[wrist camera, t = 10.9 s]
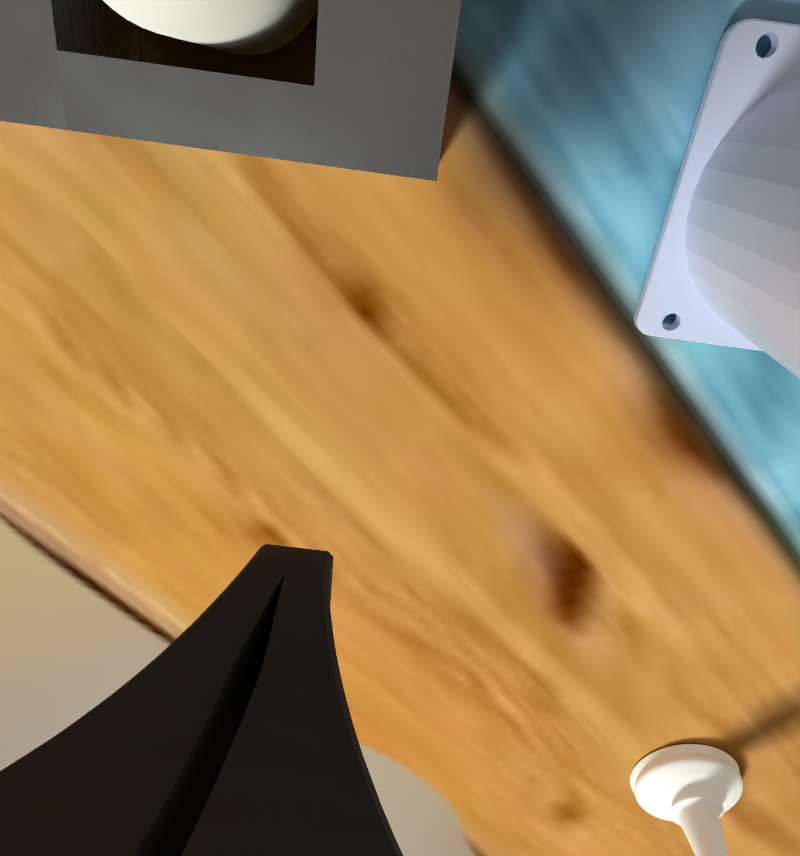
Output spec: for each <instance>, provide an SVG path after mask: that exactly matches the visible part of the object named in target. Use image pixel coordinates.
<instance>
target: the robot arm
mask: <svg viewBox="0 0 800 856" xmlns="http://www.w3.org/2000/svg"><path fill="white" fill-rule="evenodd" d="M764 34H765V35H767V36H769V38H770V41H771V47H770V50H769V52H768V53H767V55H765V56H764V57H763V58H761V57H759V56H758V55H757V53H756V51H755V50H756V43H757V42H758V40H759V38H760V37H761V36H763V35H764ZM674 313H675V314H676V320H675V321H674V323H673V324H671V325H670V326H665V327H664V326H662V321H663V319H664V318H665V316H667V315H669V314H674ZM634 322H635V325H636V327H637V328H638V329H639V330H640V331H641V332H642V333H644V334H646V335H650V336H657V337H664V338H672V339H679V340H686V341H694V342H701V343H708V344H715V345H723V346H730V347H737V348H745V349H752V350H759V351H764V352H765V353H767V354H768V355H769V356H771V357H772V358H773V359H775V360H776V361H777V362H779V363H780V364H781V365H783V366H784V367H785V368H787V369H788V370H789V371H791V372H792V373H793V374H795V375H796V376H797V377H799V378H800V25H798V24H791V23H784V22H777V21H770V20H763V19H756V18H752V19H744V20H741V21H738V22H737V23H735V24H733V25H731V26H730V27H729V28H728V30H727V31H726V32H725V33H724V35H723V37H722V39H721V41H720V44H719V47H718V51H717V54H716V57H715V60H714V63H713V67H712V70H711V73H710V76H709V79H708V82H707V86H706V89H705V92H704V95H703V98H702V102H701V105H700V108H699V111H698V114H697V117H696V121H695V124H694V127H693V130H692V133H691V136H690V140H689V143H688V146H687V149H686V152H685V156H684V159H683V162H682V165H681V168H680V171H679V175H678V178H677V181H676V184H675V187H674V191H673V194H672V197H671V200H670V203H669V206H668V210H667V213H666V216H665V219H664V222H663V225H662V229H661V232H660V235H659V238H658V241H657V245H656V248H655V251H654V254H653V257H652V260H651V264H650V267H649V270H648V273H647V276H646V280H645V283H644V286H643V289H642V292H641V295H640V299H639V302H638V305H637V308H636V311H635V315H634ZM332 569H333V556H332V555H331V554H330V553H329V552H328V551H320V550H311V549H303V548H294V547H286V546H277V545H269V544H265V545H264V546H262V547H261V548H260V549H259V550H258V551H257V552H256V554H255V555H254V556H253V558H252V559H251V560H250V561H249V562H248V564H247V565H246V566H245V567H244V568H243V570H242V571H241V572H240V573H239V574H238V575H237V577H236V578H235V579H234V580H233V581H232V582H231V583H230V585H229V586H228V587H227V588H226V589H225V590H224V591H223V592H222V593H221V594H220V596H219V597H218V598H217V599H216V600H215V601H214V602H213V603H212V604H211V605H210V606H209V607H208V608H207V609H206V610H205V611H204V612H203V613H202V614H201V615H200V617H199V618H198V619H197V620H196V621H195V622H194V623H193V624H192V625H191V626H189V627H188V628H187V629H186V630H185V631H184V632H183V633H182V634H181V635H180V636H179V637H178V638H177V639H176V640H175V641H174V642H173V643H171V644H170V645H169V646H168V647H167V648H166V649H165V650H164V651H163V652H162V653H161V654H160V655H159V656H157V657H156V658H155V659H154V660H153V661H152V662H151V663H149V664H148V665H147V666H146V667H145V668H144V669H143V670H141V671H140V672H139V673H138V674H137V675H135V676H134V677H133V678H132V679H131V680H129V681H128V682H127V683H126V684H124V685H123V686H122V687H121V688H119V689H118V690H117V691H116V692H115V693H113V694H112V695H111V696H109V697H108V698H107V699H105V700H104V701H103V702H101V703H100V704H99V705H97V706H96V707H95V708H93V709H92V710H91V711H89V712H88V713H86V714H85V715H84V716H83V717H81V718H80V719H78V720H77V721H76V722H74V723H73V724H71V725H70V726H69V727H67V728H66V729H64V730H63V731H62V732H60V733H59V734H57V735H56V736H54V737H53V738H52V739H50V740H48V741H47V742H45V743H44V744H42V745H41V746H39V747H37V748H36V749H34V750H33V751H31V752H30V753H28V754H27V755H25V756H23V757H22V758H21V759H19V760H17V761H16V762H14V763H12V764H11V765H9V766H8V767H6V768H5V769H3V770H1V771H0V856H403V854H402V852H401V850H400V848H399V846H398V844H397V841H396V839H395V837H394V835H393V832H392V830H391V827H390V825H389V823H388V820H387V818H386V816H385V813H384V811H383V809H382V806H381V804H380V801H379V798H378V795H377V793H376V790H375V787H374V784H373V782H372V779H371V776H370V774H369V771H368V768H367V766H366V763H365V760H364V757H363V755H362V752H361V748H360V745H359V742H358V739H357V736H356V733H355V729H354V726H353V723H352V719H351V715H350V712H349V708H348V705H347V701H346V697H345V693H344V689H343V684H342V680H341V675H340V671H339V666H338V661H337V656H336V650H335V644H334V637H333V629H332V621H331V613H330V600H331V585H332Z"/></svg>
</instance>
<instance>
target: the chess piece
mask: <svg viewBox="0 0 800 856" xmlns="http://www.w3.org/2000/svg"><path fill="white" fill-rule="evenodd" d="M630 785H631V788H632V790H633V792H634V793H635V797H636V799H637V801H638V803H639V805H640V806H641V807H642V808H643V809H644V810H645V811H647V812H648V813H650V814H651V815H653V816H655V817H658V818H660V819H664V820H668V821H673V822H675V823H676V824H678V825H681V827H682V829H683V830H684V832H685V834H686V837H687V839H688V841H689V843H690V845H691V847H692V849H693V851H694V854H695V856H729V855H728V851H727V847H726V844H725V840H724V836H723V832H722V828H721V824H720V818H721V817H722V815H723V813H724V812H726V811H727V810H729V809H730V808H731V807H732V806H734V805H735V803H736V802H737V801H738V800H739V798H740V796H741V794H742V791H743V781H742V778H741V775H740V771H739V767H738V765H737V763H736V761H735V760H734V759H733V758H732V757H731V756H730V755H729V754H727V753H726V752H724V751H722V750H720V749H717V748H715V747H711V746H707V745H701V744H680V745H674V746H669V747H665V748H662V749H659V750H657V751H655V752H652V753H651V754H649V755H647V756H646V757H644V758H643V759H642V760H640V761H639V762H638V763H637V765H636V766H635V767H634V769H633V770H632V773H631V776H630Z"/></svg>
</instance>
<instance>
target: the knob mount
mask: <svg viewBox="0 0 800 856" xmlns="http://www.w3.org/2000/svg"><path fill="white" fill-rule="evenodd" d="M461 3H462V0H318V19H317V40H316V60H315V81H314V86H311V85H304V84H297V83H290V82H282V81H275V80H268V79H261V78H254V77H246V76H239V75H232V74H225V73H218V72H210V71H203V70H196V69H189V68H182V67H174V66H167V65H160V64H153V63H146V62H141V58H140V43H139V28H138V25H136V24H134V23H132V22H130V21H129V20H127V19H126V18H124V17H123V16H121V15H120V14H118V13H117V12H116V11H114V10H113V9H112V8H111V7H110V6H108V5H107V4H106V3H105V2H104V1H103V0H0V121H7V122H14V123H21V124H28V125H36V126H43V127H50V128H57V129H65V130H72V131H79V132H86V133H93V134H101V135H108V136H115V137H122V138H130V139H137V140H144V141H151V142H159V143H166V144H173V145H180V146H187V147H195V148H202V149H209V150H216V151H224V152H231V153H238V154H245V155H253V156H260V157H267V158H274V159H282V160H289V161H296V162H303V163H310V164H318V165H325V166H332V167H339V168H347V169H354V170H361V171H368V172H376V173H383V174H390V175H397V176H404V177H412V178H419V179H426V180H433V181H437V173H438V166H439V159H440V152H441V145H442V138H443V131H444V124H445V116H446V109H447V102H448V95H449V88H450V81H451V74H452V67H453V59H454V52H455V45H456V38H457V31H458V24H459V17H460V10H461Z"/></svg>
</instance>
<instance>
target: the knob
mask: <svg viewBox="0 0 800 856" xmlns="http://www.w3.org/2000/svg"><path fill="white" fill-rule="evenodd" d="M103 1H104V2H105V3H106V4H107V5H108V6H110V7H111V8H112V9H113V10H114V11H116V12H117V13H118V14H120V15H121V16H123V17H124V18H126V19H127V20H129V21H130V22H132V23H134V24H136V25H138V26H140V27H142V28H144V29H147V30H150V31H152V32H155V33H158V34H162V35H166V36H169V37H173V38H177V39H181V40H185V41H188V42H192V43H196V44H200V45H203V46H207V47H211V48H215V49H219V50H222V51H226V52H230V53H235V54H240V55H257V54H264V53H267V52H271V51H274V50H276V49H278V48H281V47H283V46H284V45H286V44H287V43H289V42H290V41H292V40H293V39H294V38H295V37H296V36H297V35H299V34H300V33H301V32H302V30H303V29H304V28H305V27H306V26H307V25H308V23H309V22H310V20H311V18H312V17H313V15H314V14H315V12H316V10H317V8H318V0H103Z"/></svg>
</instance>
